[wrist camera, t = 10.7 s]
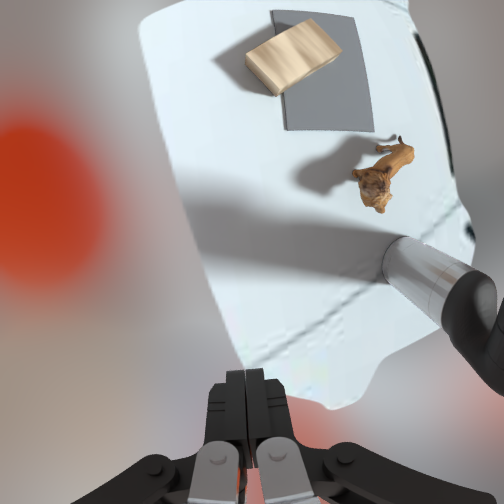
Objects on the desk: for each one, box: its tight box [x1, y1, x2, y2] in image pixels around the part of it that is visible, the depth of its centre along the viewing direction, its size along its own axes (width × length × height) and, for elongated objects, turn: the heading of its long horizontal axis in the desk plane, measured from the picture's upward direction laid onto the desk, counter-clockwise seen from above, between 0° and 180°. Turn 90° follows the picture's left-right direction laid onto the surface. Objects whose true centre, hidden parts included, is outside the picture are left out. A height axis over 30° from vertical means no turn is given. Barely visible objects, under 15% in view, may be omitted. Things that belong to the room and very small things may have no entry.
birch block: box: [245, 18, 343, 97], centre depth 31 cm, size 4×7×12 cm
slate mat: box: [273, 10, 374, 132], centre depth 33 cm, size 14×22×1 cm, turn 5°
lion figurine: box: [352, 136, 414, 214], centre depth 34 cm, size 15×5×9 cm, turn 142°
